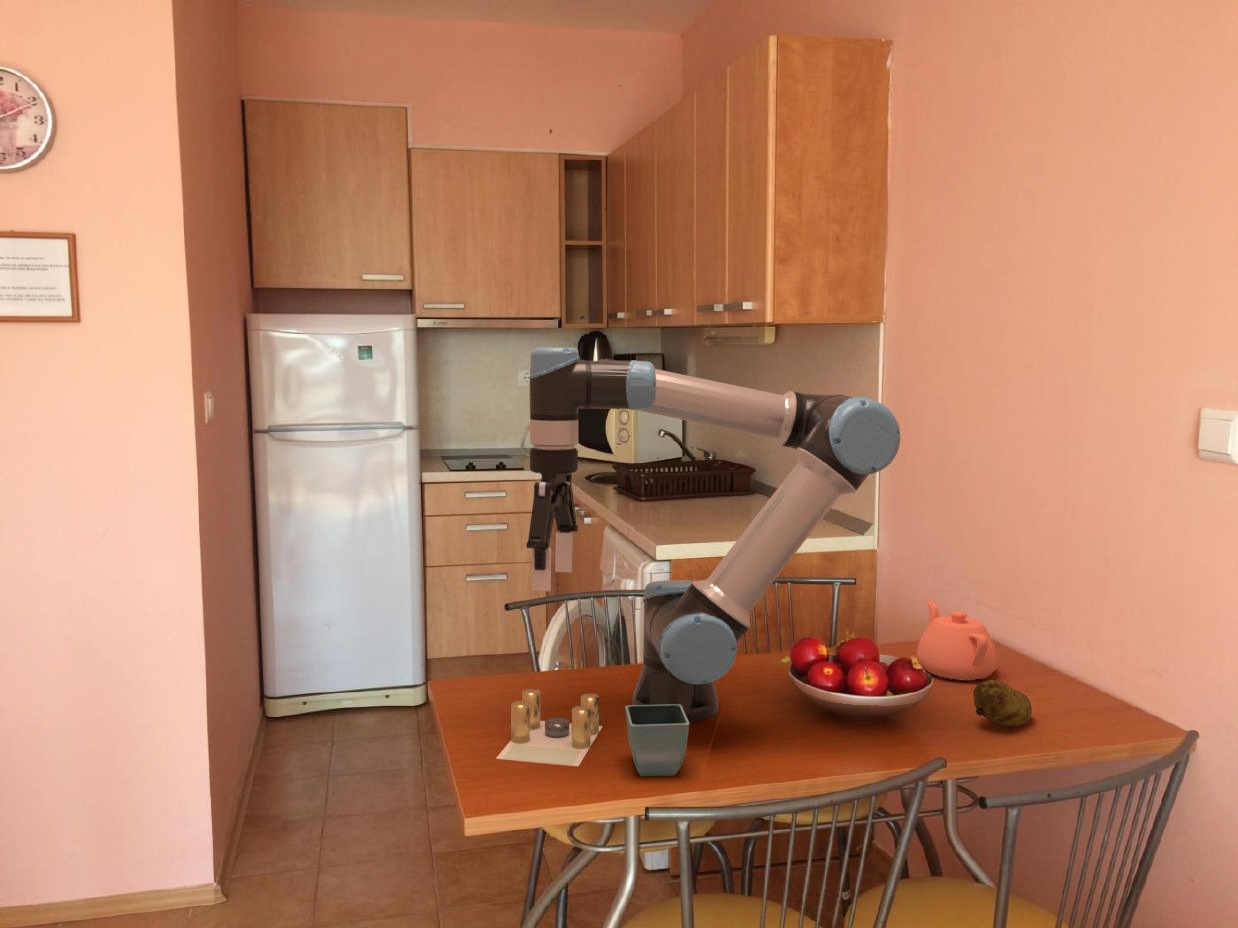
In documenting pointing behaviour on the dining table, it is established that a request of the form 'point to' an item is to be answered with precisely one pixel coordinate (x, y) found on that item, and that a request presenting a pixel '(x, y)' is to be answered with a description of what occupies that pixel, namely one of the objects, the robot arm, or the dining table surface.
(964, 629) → the teapot
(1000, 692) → the potato
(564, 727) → the dark metal puck
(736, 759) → the dining table surface
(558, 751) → the board
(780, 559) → the robot arm
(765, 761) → the dining table surface
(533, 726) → the cylinder
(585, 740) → the cylinder
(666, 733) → the flower pot
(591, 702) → the cylinder
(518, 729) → the cylinder
